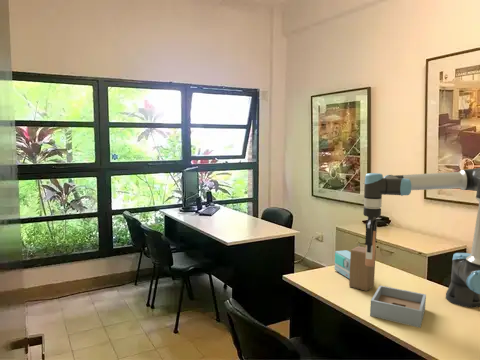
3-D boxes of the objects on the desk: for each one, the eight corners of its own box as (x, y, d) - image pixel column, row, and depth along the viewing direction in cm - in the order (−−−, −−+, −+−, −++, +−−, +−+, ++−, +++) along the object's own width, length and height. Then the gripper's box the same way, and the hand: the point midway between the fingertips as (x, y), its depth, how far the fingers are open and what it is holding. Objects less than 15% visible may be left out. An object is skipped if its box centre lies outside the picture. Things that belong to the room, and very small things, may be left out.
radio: (332, 271, 223) (333, 237, 221) (346, 269, 226) (347, 236, 224) (347, 281, 208) (349, 244, 206) (362, 279, 211) (364, 243, 209)
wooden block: (356, 281, 208) (357, 245, 205) (374, 286, 201) (376, 249, 199) (348, 286, 200) (350, 249, 198) (367, 292, 194) (369, 253, 191)
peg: (375, 264, 178) (376, 230, 176) (373, 267, 175) (374, 232, 173) (366, 263, 180) (367, 229, 178) (364, 265, 177) (365, 231, 175)
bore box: (425, 309, 175) (426, 294, 174) (420, 327, 158) (421, 311, 157) (378, 299, 185) (379, 285, 184) (369, 315, 168) (370, 300, 167)
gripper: (368, 203, 184) (366, 251, 186) (359, 209, 169) (357, 261, 172) (384, 205, 180) (382, 254, 182) (377, 211, 165) (374, 264, 168)
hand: (370, 257), depth 177 cm, fingers closed on peg, 4 cm apart
